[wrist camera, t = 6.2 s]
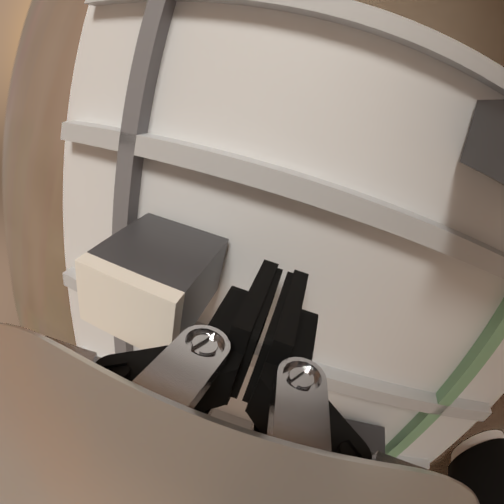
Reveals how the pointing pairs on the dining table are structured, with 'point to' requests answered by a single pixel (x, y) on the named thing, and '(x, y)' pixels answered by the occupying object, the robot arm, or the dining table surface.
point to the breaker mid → (149, 280)
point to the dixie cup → (481, 466)
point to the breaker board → (307, 188)
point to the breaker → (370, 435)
